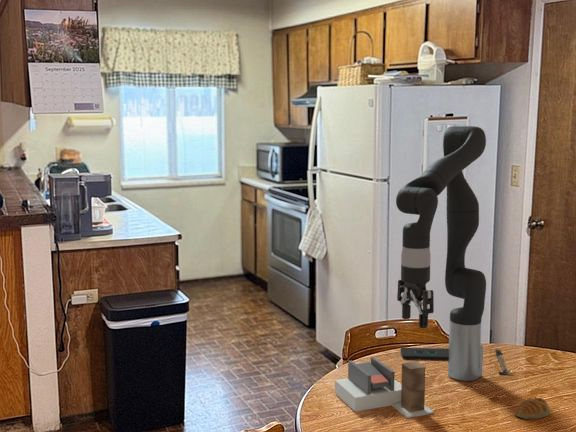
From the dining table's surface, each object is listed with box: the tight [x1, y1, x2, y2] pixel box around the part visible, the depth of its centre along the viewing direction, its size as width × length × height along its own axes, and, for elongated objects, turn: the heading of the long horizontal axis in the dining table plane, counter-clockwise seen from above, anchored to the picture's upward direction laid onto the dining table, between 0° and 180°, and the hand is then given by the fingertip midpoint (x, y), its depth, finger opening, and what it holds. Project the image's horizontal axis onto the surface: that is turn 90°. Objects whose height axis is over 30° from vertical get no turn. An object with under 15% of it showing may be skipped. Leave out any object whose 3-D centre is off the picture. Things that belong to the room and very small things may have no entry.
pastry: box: [514, 397, 551, 420], centre depth 183 cm, size 9×7×4 cm
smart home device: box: [400, 347, 449, 361], centre depth 227 cm, size 8×2×20 cm
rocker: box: [356, 361, 389, 389], centre depth 193 cm, size 5×12×1 cm, turn 21°
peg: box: [401, 360, 426, 412], centre depth 185 cm, size 4×4×12 cm
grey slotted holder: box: [334, 356, 402, 412], centre depth 193 cm, size 16×13×9 cm
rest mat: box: [391, 403, 435, 419], centre depth 186 cm, size 8×8×1 cm
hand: (414, 323), depth 183 cm, fingers open, 8 cm apart
